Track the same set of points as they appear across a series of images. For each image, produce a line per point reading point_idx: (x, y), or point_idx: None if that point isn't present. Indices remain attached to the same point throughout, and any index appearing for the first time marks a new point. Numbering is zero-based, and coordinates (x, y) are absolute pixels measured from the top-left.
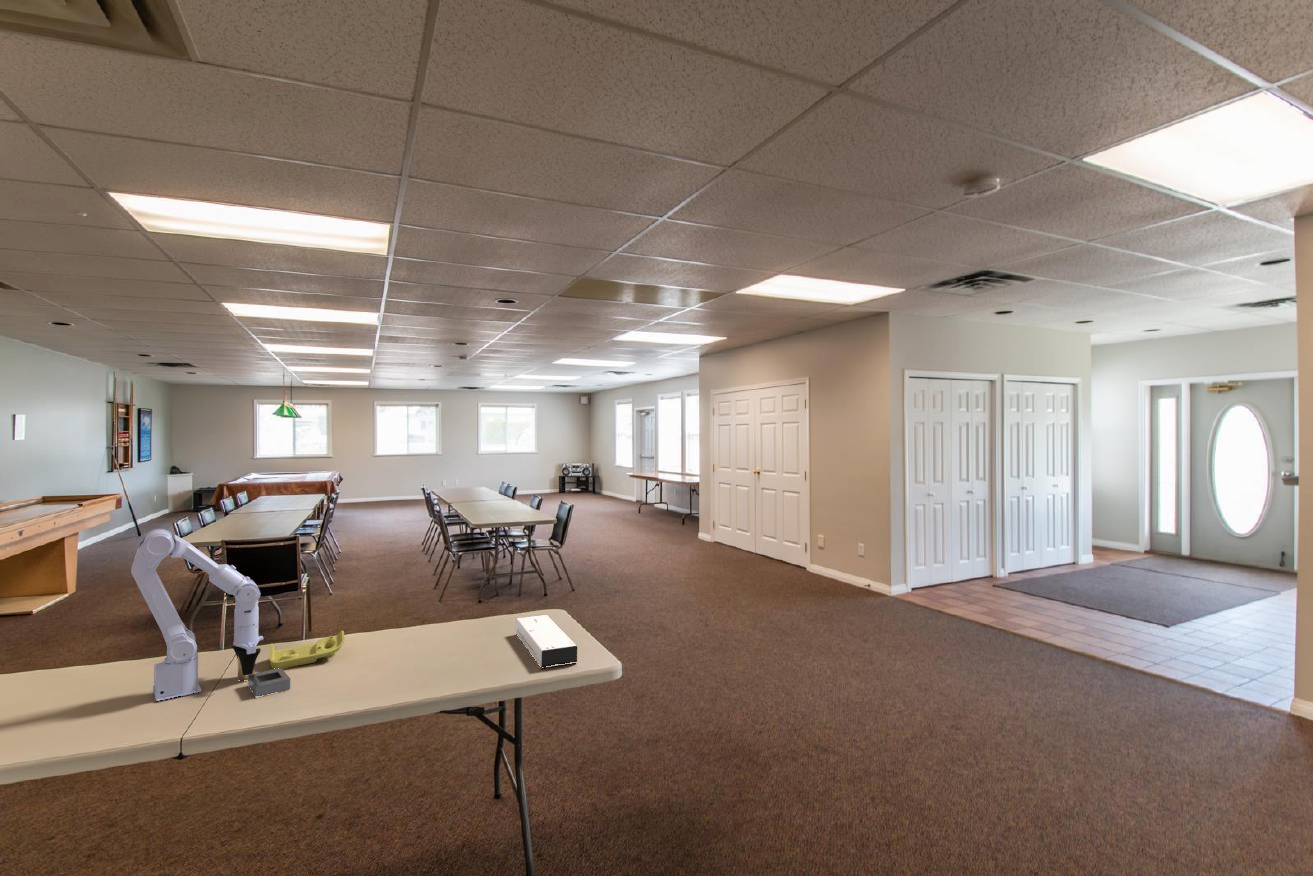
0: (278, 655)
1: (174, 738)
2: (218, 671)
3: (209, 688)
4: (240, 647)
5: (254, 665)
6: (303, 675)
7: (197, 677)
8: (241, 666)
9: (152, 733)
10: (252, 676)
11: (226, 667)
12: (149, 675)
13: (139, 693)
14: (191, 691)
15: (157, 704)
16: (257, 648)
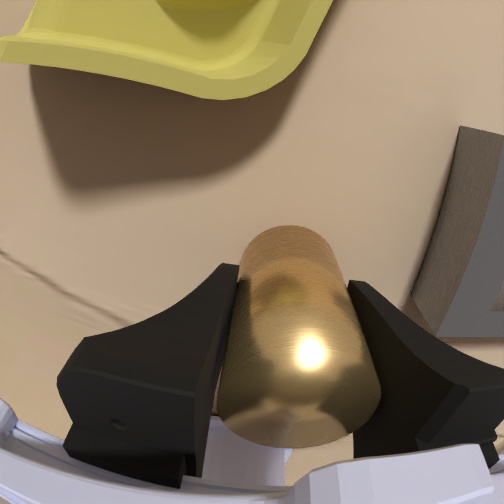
0: (113, 9)
1: (498, 444)
2: (67, 318)
3: None
4: (199, 474)
5: (324, 274)
6: (496, 31)
7: (255, 469)
8: None
9: None
10: (472, 324)
11: (32, 277)
12: (32, 418)
13: None
14: None
15: (288, 477)
16: (457, 409)
